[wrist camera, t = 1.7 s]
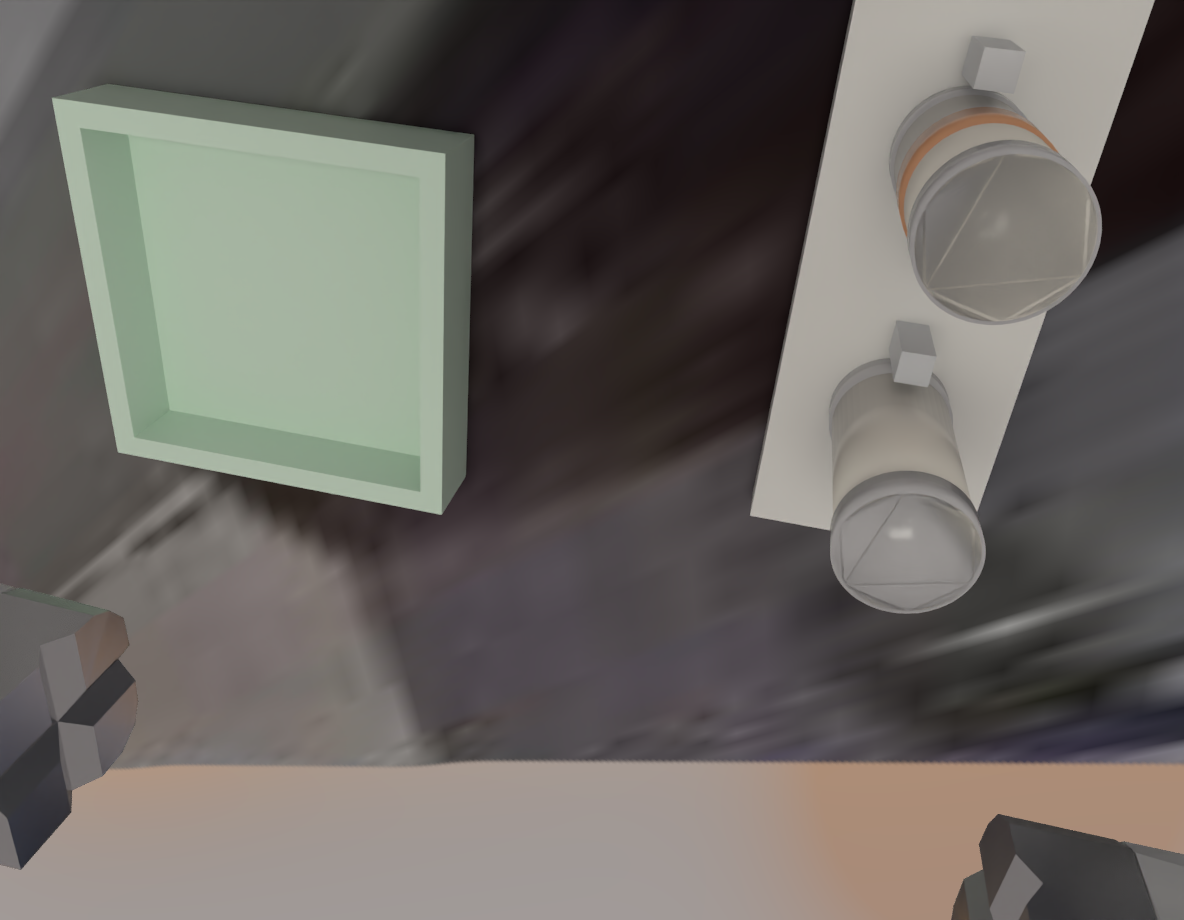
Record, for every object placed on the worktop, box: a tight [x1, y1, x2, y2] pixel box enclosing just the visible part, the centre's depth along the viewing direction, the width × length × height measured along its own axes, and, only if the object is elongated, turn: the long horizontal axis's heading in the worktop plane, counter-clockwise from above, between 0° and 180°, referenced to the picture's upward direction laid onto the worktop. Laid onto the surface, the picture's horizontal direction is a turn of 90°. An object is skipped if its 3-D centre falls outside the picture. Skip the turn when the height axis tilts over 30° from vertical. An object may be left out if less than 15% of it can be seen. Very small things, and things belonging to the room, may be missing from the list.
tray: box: [52, 84, 474, 515], centre depth 42 cm, size 16×16×4 cm
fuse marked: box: [889, 86, 1102, 325], centre depth 29 cm, size 5×5×10 cm
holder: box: [750, 0, 1155, 530], centre depth 33 cm, size 32×9×5 cm, turn 175°
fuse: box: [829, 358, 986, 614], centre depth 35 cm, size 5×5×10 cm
